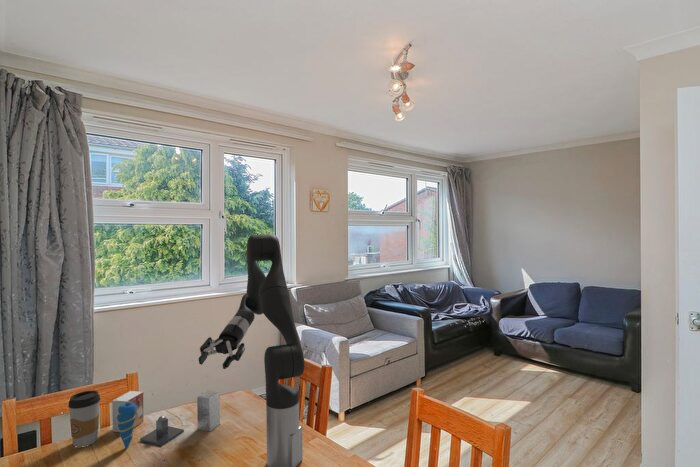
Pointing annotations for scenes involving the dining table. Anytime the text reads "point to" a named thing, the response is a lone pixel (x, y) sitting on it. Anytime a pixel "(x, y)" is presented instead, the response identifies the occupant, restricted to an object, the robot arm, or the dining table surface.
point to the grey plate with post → (162, 433)
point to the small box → (131, 395)
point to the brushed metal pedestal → (208, 410)
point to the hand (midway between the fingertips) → (211, 364)
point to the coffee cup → (84, 417)
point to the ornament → (126, 421)
